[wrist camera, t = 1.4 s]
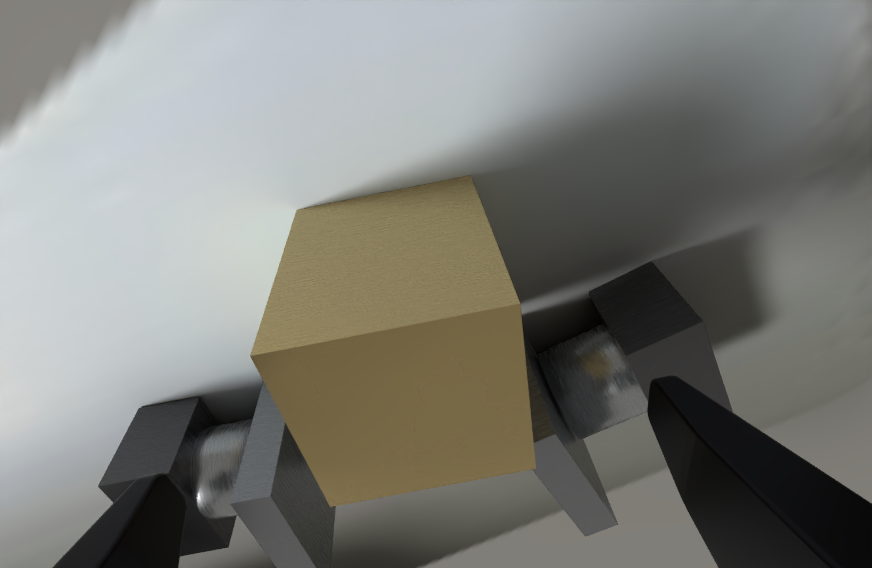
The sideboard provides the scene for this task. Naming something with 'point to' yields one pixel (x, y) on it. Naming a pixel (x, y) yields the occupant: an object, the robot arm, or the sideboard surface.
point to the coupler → (398, 344)
